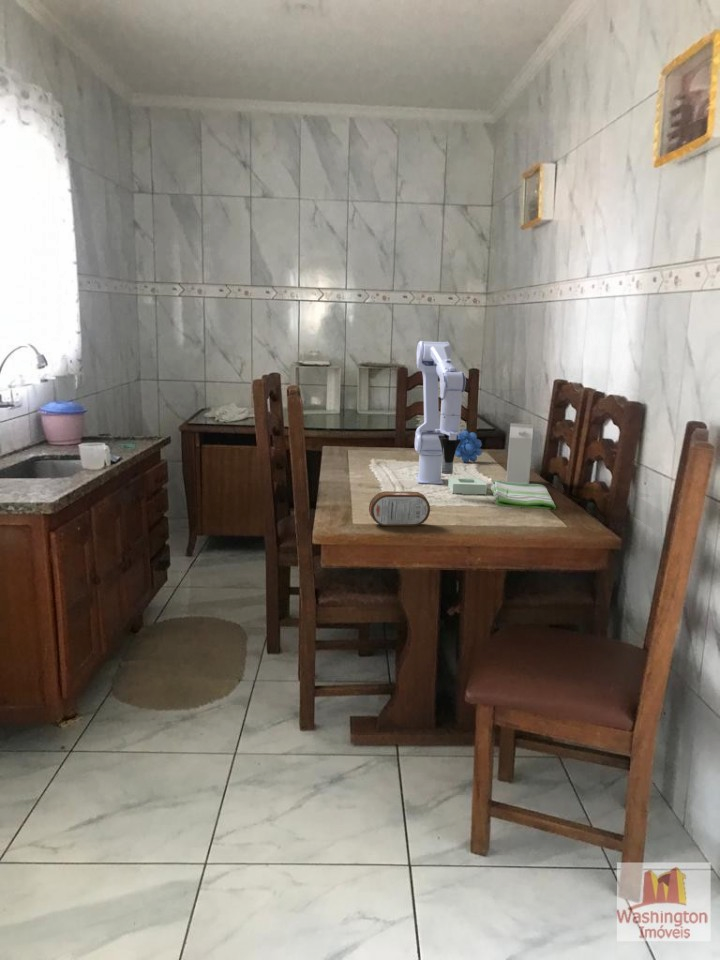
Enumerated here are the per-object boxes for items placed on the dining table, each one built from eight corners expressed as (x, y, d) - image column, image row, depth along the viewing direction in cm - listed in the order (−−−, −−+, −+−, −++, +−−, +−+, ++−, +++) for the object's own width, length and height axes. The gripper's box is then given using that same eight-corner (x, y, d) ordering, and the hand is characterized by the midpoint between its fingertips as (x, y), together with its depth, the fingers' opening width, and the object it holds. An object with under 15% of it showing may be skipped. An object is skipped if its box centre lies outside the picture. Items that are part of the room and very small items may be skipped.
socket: (447, 486, 225) (448, 477, 225) (480, 487, 226) (480, 478, 225) (452, 493, 216) (453, 483, 215) (486, 494, 216) (486, 484, 215)
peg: (440, 471, 212) (442, 441, 210) (451, 472, 212) (453, 441, 211) (442, 474, 209) (444, 443, 207) (453, 474, 209) (455, 443, 207)
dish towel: (546, 493, 223) (547, 482, 222) (557, 511, 201) (558, 499, 200) (490, 490, 225) (490, 479, 224) (494, 507, 203) (495, 495, 202)
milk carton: (506, 479, 240) (510, 422, 236) (528, 480, 239) (533, 423, 235) (506, 483, 233) (510, 424, 229) (528, 485, 232) (533, 426, 228)
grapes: (454, 464, 264) (456, 431, 261) (449, 461, 270) (450, 429, 268) (484, 464, 265) (487, 431, 263) (479, 461, 272) (481, 429, 270)
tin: (427, 523, 182) (429, 490, 180) (430, 526, 179) (432, 493, 177) (368, 524, 179) (369, 490, 178) (370, 527, 176) (371, 493, 175)
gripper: (433, 411, 214) (431, 456, 217) (439, 417, 200) (437, 465, 203) (457, 411, 214) (454, 457, 217) (465, 417, 200) (462, 466, 203)
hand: (447, 461), depth 210 cm, fingers closed on peg, 3 cm apart
